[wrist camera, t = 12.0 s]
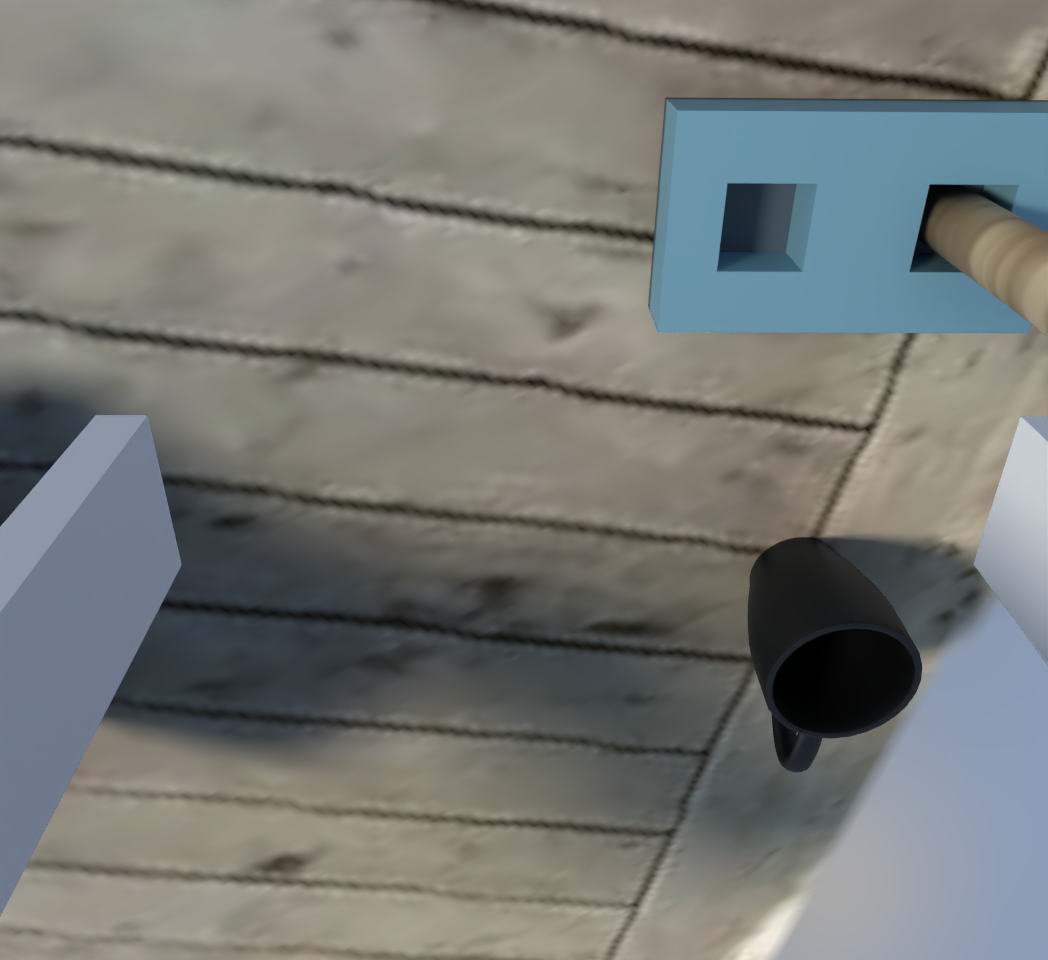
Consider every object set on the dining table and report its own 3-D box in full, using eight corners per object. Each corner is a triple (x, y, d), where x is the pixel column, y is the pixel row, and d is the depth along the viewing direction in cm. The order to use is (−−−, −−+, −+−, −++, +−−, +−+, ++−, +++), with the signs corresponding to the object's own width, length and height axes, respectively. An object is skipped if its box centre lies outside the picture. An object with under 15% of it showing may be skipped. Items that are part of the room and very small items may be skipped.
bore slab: (648, 306, 47) (657, 332, 44) (665, 97, 42) (677, 110, 39) (995, 307, 47) (1028, 333, 44) (1055, 100, 42) (1097, 113, 39)
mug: (693, 661, 59) (723, 777, 51) (751, 508, 53) (795, 612, 45) (813, 677, 60) (860, 794, 52) (883, 529, 54) (950, 635, 46)
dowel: (900, 242, 45) (1044, 355, 33) (915, 179, 43) (1072, 274, 31) (961, 243, 45) (1126, 356, 33) (978, 180, 43) (1158, 275, 31)
